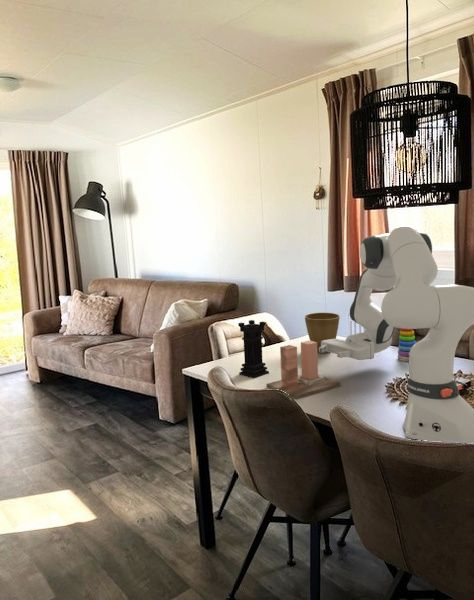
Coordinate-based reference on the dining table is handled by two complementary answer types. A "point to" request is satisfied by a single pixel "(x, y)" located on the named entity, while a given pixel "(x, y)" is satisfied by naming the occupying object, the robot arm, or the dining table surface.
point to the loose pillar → (309, 360)
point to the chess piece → (252, 349)
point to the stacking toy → (405, 343)
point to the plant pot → (322, 327)
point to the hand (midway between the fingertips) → (329, 352)
